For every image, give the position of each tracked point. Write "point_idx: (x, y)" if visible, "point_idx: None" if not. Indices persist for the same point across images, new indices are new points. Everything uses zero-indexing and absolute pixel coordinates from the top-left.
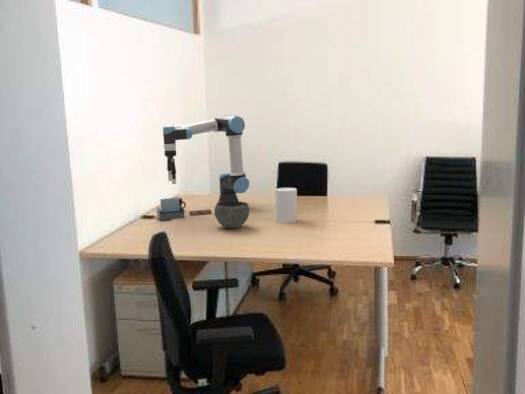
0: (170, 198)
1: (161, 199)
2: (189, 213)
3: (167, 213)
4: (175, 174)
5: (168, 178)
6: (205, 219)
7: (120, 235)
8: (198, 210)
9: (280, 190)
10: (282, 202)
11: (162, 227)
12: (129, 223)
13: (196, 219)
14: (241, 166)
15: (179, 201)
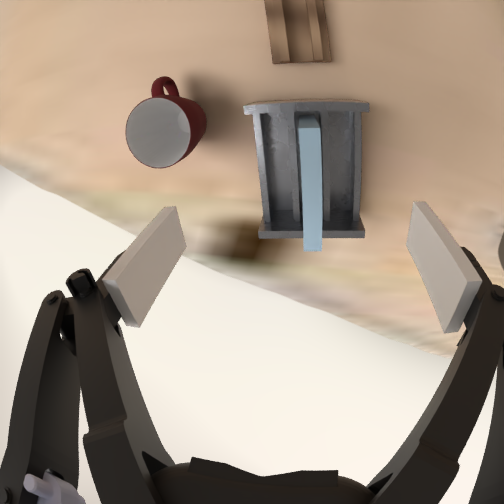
0: (310, 188)
1: (321, 246)
2: (284, 62)
3: (360, 190)
4: (476, 276)
5: (173, 264)
6: (401, 19)
7: (462, 329)
8: (276, 14)
9: None
10: None
11: (461, 222)
12: (338, 310)
13: (388, 52)
14: None
15: (191, 110)
